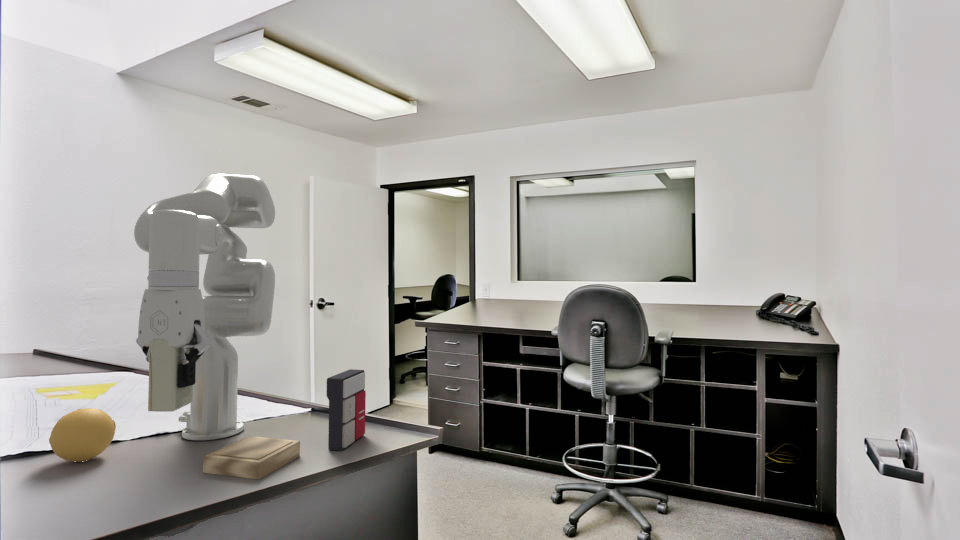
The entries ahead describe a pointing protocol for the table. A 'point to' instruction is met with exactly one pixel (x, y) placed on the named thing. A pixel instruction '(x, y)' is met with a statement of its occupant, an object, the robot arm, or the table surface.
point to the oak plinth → (251, 457)
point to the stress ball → (82, 434)
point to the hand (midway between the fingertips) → (172, 383)
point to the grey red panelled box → (346, 408)
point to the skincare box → (166, 379)
